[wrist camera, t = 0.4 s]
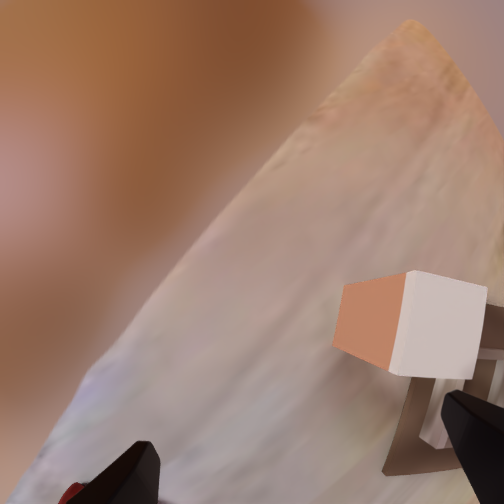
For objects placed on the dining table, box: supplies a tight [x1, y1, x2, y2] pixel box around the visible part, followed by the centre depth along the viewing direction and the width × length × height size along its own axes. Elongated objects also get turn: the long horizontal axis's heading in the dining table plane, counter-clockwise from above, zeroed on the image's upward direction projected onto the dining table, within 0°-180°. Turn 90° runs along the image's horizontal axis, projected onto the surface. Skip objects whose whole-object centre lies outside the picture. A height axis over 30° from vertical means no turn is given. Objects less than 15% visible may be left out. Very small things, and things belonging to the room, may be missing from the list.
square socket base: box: [382, 304, 504, 476], centre depth 20 cm, size 16×12×4 cm
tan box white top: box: [332, 270, 488, 379], centre depth 18 cm, size 5×5×11 cm
